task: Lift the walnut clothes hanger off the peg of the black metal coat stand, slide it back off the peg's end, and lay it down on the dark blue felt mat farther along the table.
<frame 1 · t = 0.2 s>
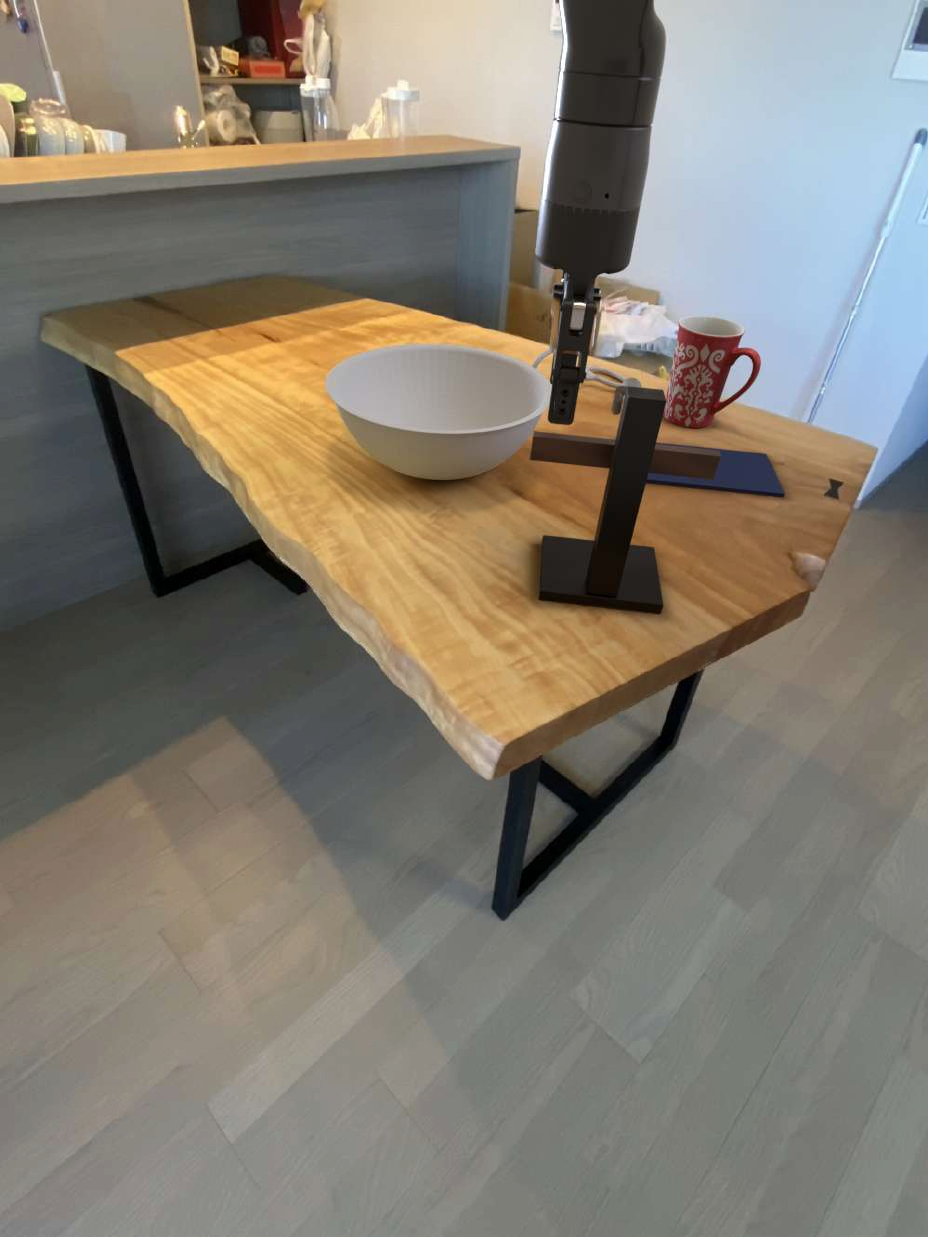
hand: (560, 402, 62), 17 cm above the table, tool pointing down, fingers open, 8 cm apart
hanger: (623, 455, 64), point 13 cm above the table, touching coat stand
bowl: (437, 460, 89), on the table
hook: (575, 390, 110), on the table
coat stand: (597, 576, 71), on the table
mug: (696, 423, 103), on the table
mat: (697, 468, 91), on the table
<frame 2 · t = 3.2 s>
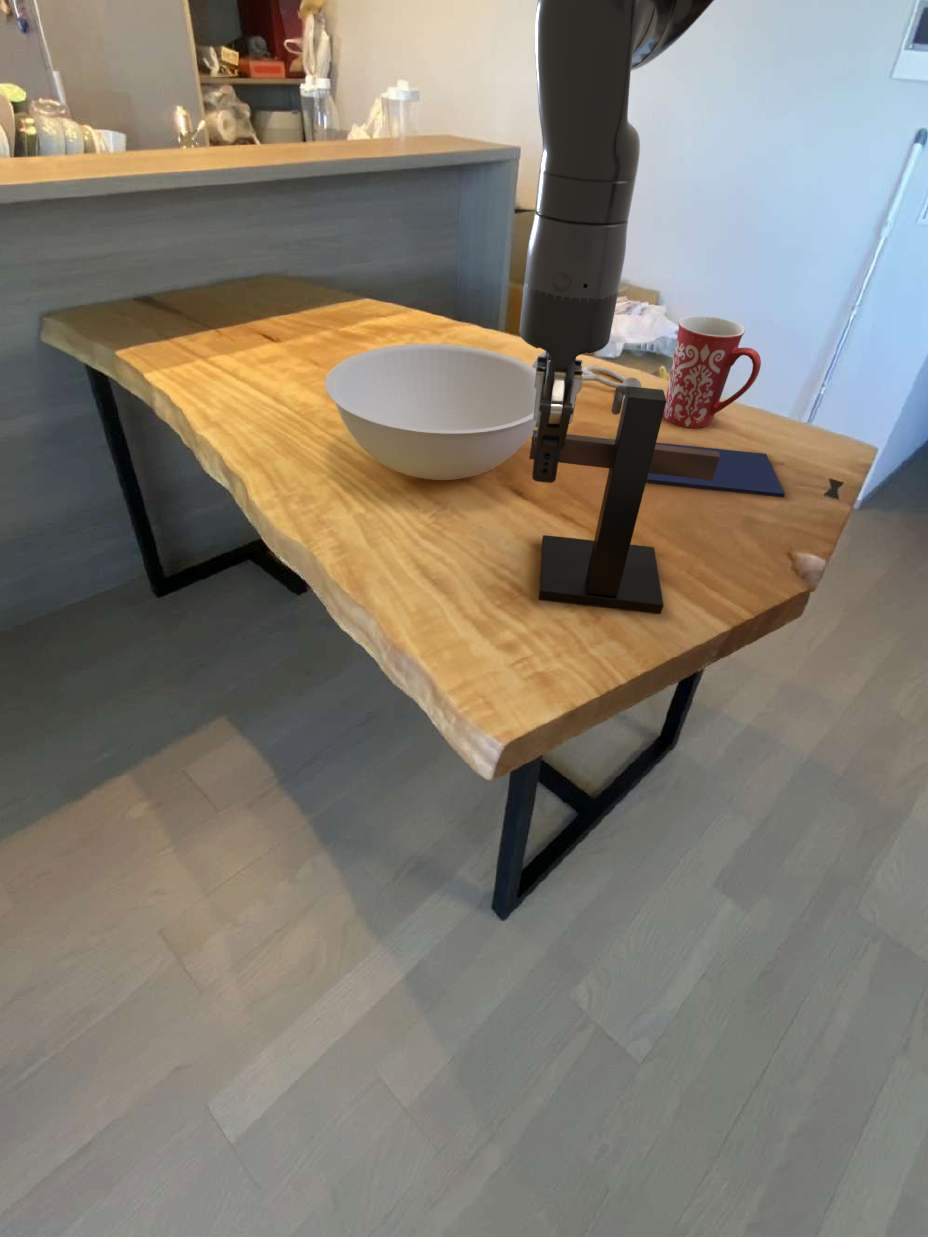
hand: (543, 474, 66), 10 cm above the table, tool pointing down, fingers closed on hanger, 1 cm apart
hanger: (622, 455, 64), point 13 cm above the table, touching coat stand, gripper
everything else where it was.
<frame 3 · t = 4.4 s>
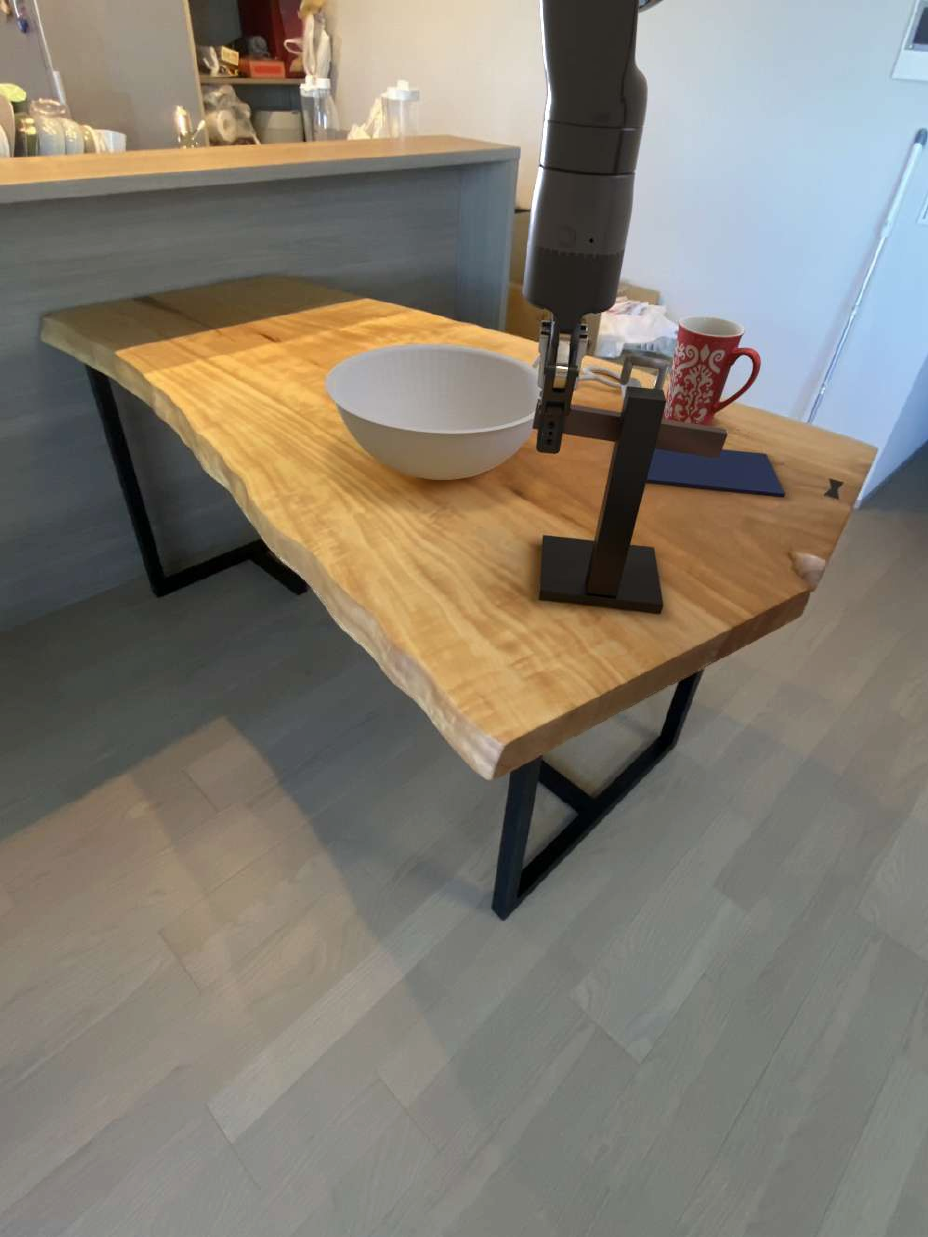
hand: (547, 446, 64), 13 cm above the table, tool pointing down, fingers closed on hanger, 1 cm apart
hanger: (628, 428, 62), point 16 cm above the table, touching coat stand, gripper
everything else where it was.
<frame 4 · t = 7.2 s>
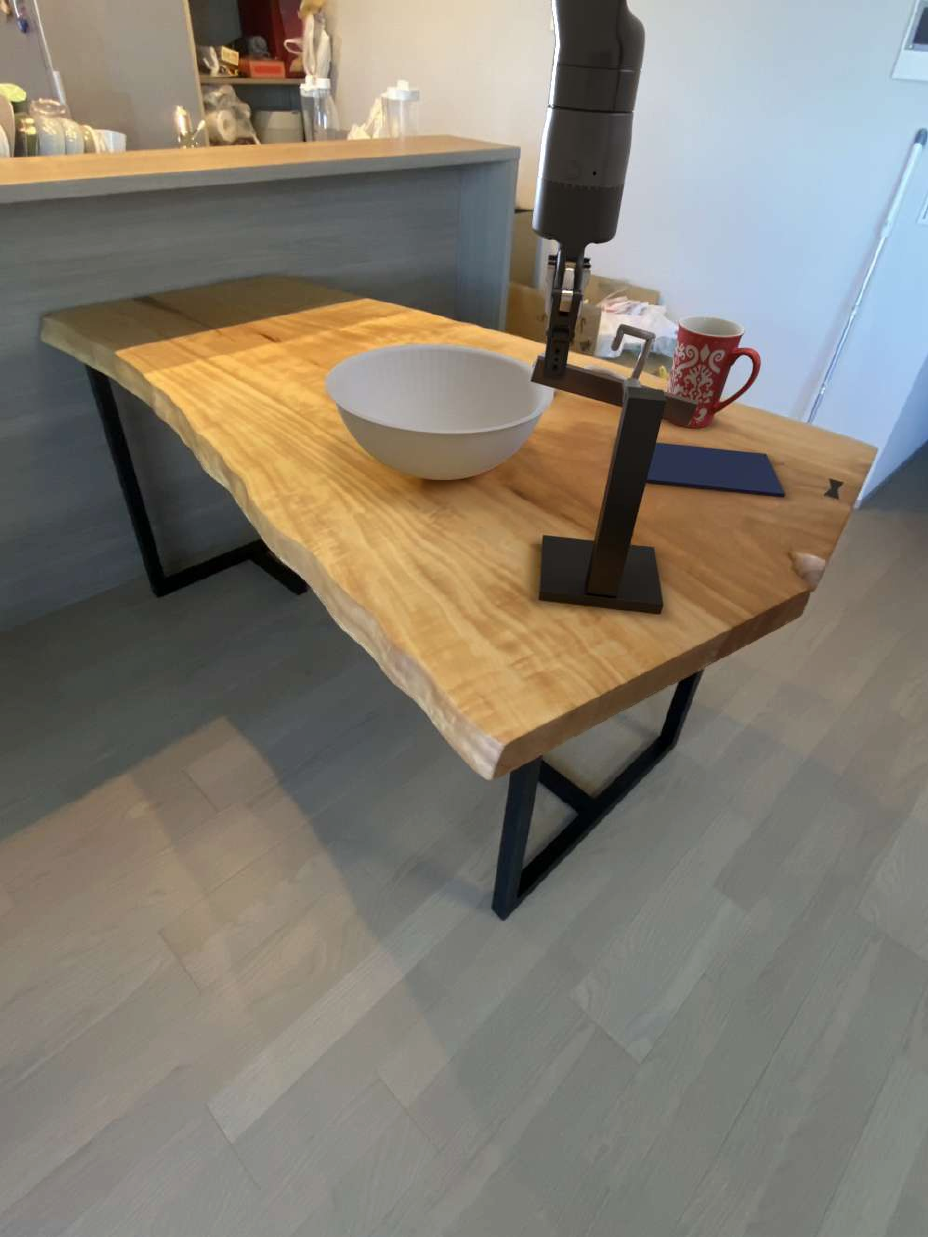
hand: (553, 374, 70), 16 cm above the table, tool pointing down, fingers closed on hanger, 1 cm apart
hanger: (613, 391, 70), point 15 cm above the table, tilted 10°, touching gripper
everything else where it was.
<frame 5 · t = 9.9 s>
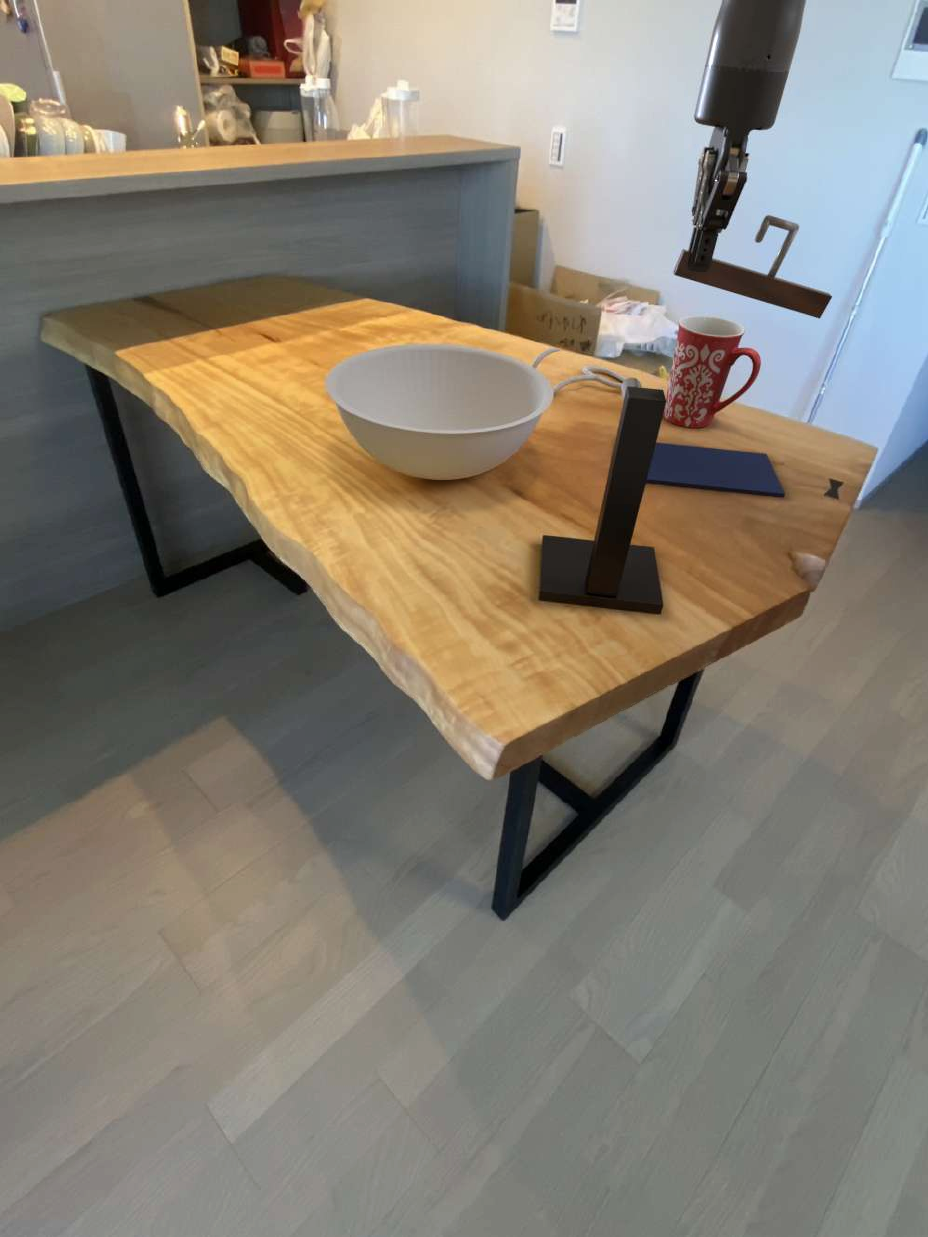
hand: (696, 267, 74), 24 cm above the table, tool pointing down, fingers closed on hanger, 1 cm apart
hanger: (752, 284, 75), point 23 cm above the table, tilted 10°, touching gripper
everything else where it was.
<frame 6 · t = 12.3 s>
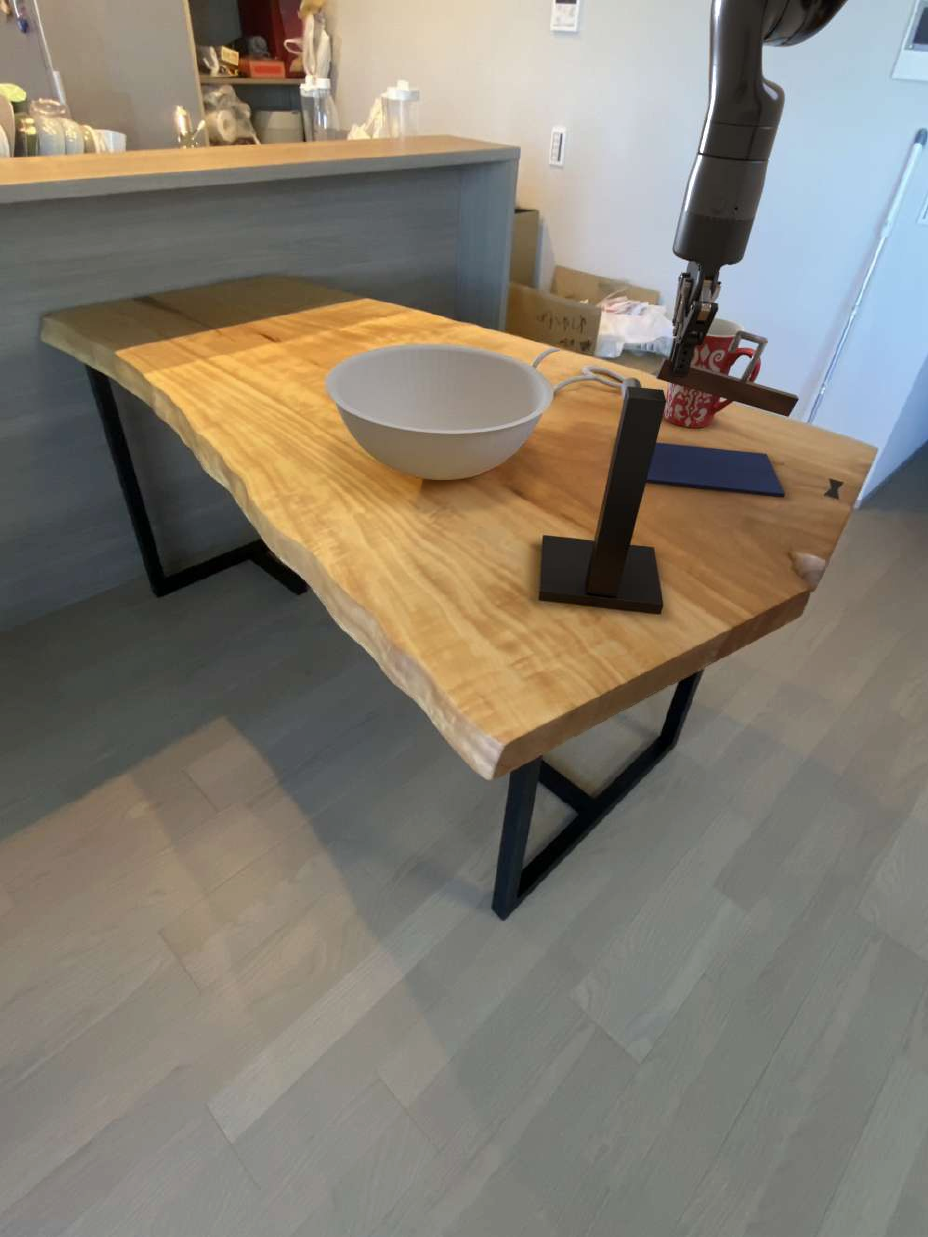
hand: (676, 372, 83), 13 cm above the table, tool pointing down, fingers closed on hanger, 1 cm apart
hanger: (726, 386, 83), point 11 cm above the table, tilted 10°, touching gripper
everything else where it was.
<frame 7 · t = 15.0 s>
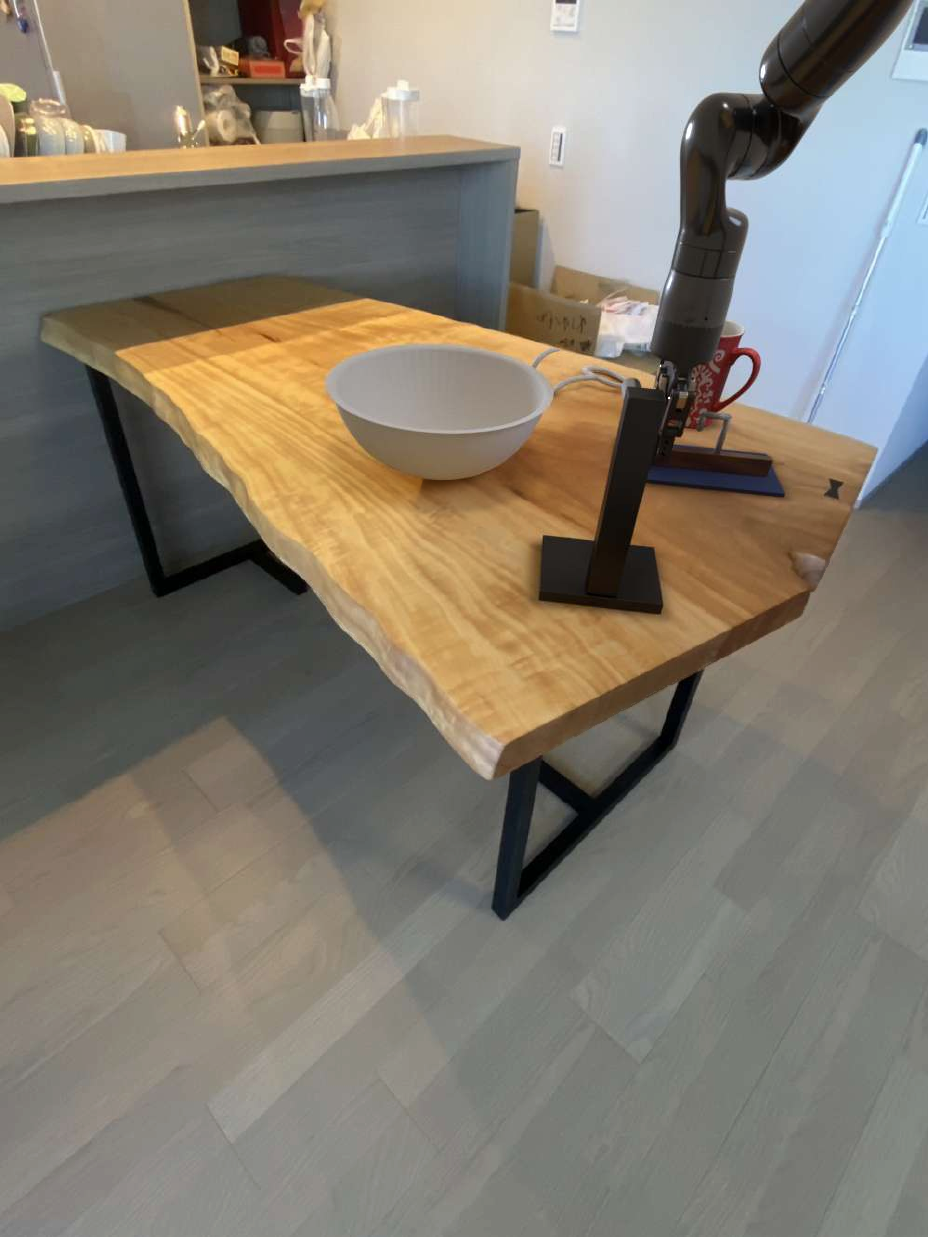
hand: (657, 449, 89), 3 cm above the table, tool pointing down, fingers open, 5 cm apart
hanger: (702, 459, 89), point 2 cm above the table, touching mat
everything else where it was.
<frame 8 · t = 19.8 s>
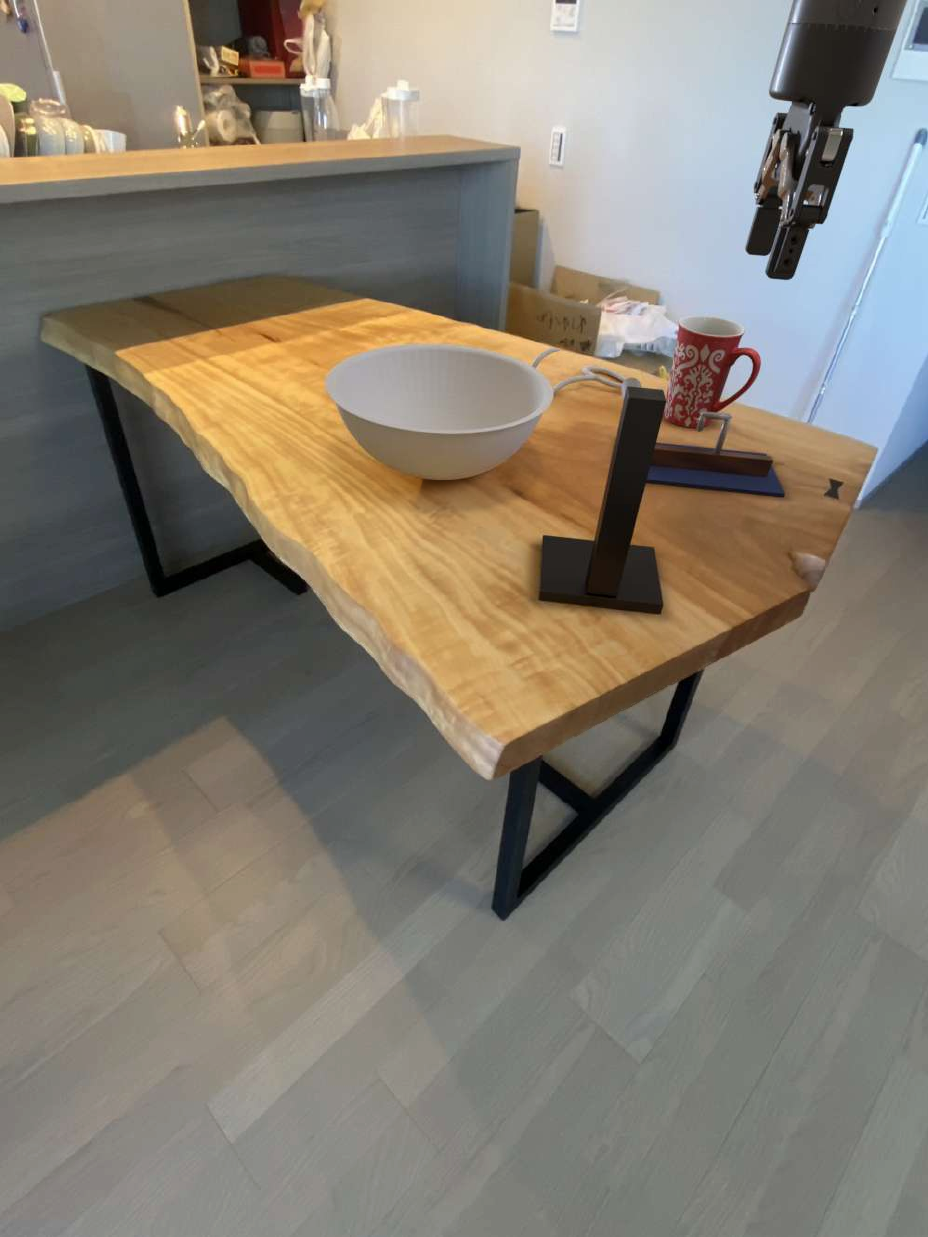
hand: (766, 265, 60), 28 cm above the table, tool pointing down, fingers open, 8 cm apart
nothing on the table moved.
at the end: hanger touching mat; hanger inside the target area on the mat (1.0 cm from its centre), point 1.7 cm above the mat's base; the gripper is holding nothing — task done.
